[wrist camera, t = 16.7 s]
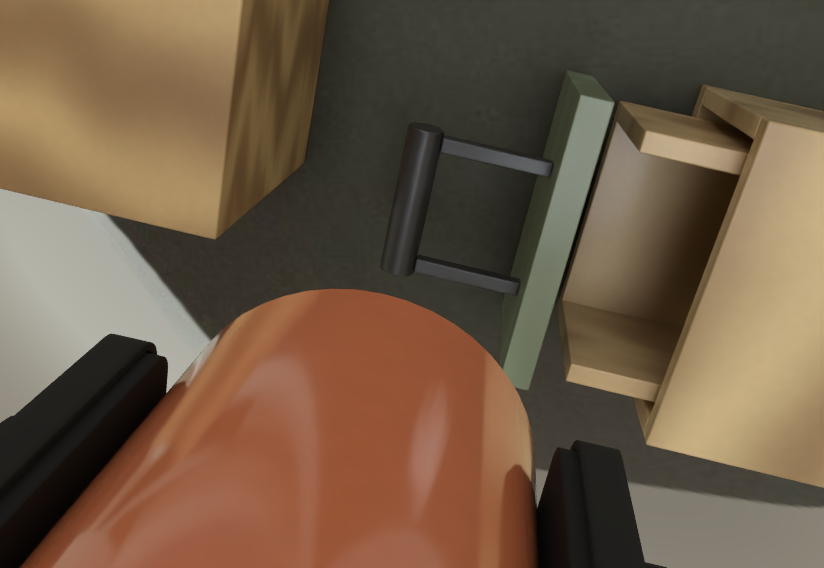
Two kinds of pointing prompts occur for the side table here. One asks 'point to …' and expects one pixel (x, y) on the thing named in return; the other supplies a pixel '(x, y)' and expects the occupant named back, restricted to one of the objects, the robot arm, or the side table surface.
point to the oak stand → (157, 104)
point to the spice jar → (319, 452)
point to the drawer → (591, 233)
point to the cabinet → (756, 307)
